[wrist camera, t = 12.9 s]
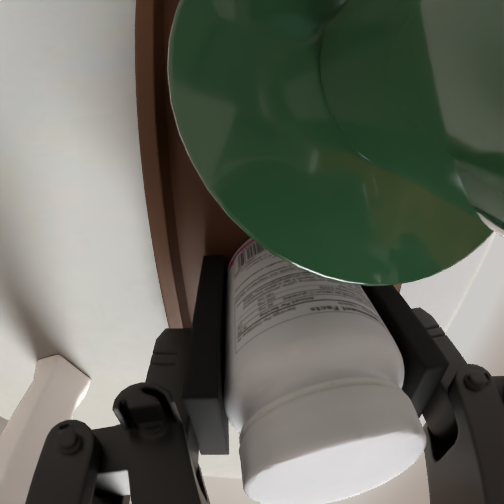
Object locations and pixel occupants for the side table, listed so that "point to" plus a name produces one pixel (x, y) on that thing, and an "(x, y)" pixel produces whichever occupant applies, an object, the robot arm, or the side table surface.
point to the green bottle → (347, 127)
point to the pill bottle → (311, 385)
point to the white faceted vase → (37, 423)
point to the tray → (174, 176)
